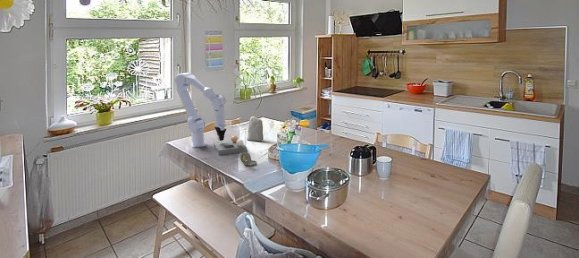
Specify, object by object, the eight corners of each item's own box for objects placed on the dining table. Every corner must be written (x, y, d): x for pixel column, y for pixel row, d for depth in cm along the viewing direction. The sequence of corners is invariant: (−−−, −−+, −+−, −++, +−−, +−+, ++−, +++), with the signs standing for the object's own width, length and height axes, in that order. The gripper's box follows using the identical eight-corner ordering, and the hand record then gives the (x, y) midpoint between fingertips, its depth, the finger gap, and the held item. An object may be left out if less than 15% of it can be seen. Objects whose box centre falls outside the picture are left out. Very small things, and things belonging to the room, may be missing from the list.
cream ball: (235, 145, 217) (235, 139, 216) (242, 144, 218) (242, 138, 217) (237, 147, 213) (237, 140, 212) (244, 146, 215) (243, 139, 214)
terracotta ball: (230, 141, 225) (230, 135, 224) (237, 140, 226) (236, 134, 225) (232, 143, 221) (231, 136, 220) (238, 142, 223) (238, 136, 222)
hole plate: (213, 146, 224) (213, 142, 223) (239, 143, 230) (239, 139, 229) (218, 154, 209) (218, 150, 208) (246, 151, 214) (246, 147, 214)
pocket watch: (256, 161, 196) (256, 143, 194) (256, 167, 188) (255, 148, 186) (241, 162, 196) (240, 144, 194) (239, 167, 188) (238, 148, 185)
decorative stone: (265, 140, 236) (264, 117, 232) (259, 142, 231) (258, 118, 228) (251, 137, 242) (250, 115, 238) (245, 140, 237) (244, 117, 233)
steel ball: (217, 140, 222) (216, 133, 221) (223, 139, 223) (223, 133, 222) (218, 142, 218) (217, 135, 217) (225, 141, 220) (224, 134, 219)
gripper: (229, 118, 212) (230, 141, 215) (223, 113, 225) (225, 135, 228) (216, 119, 210) (218, 143, 213) (212, 114, 223) (213, 136, 226)
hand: (220, 139), depth 221 cm, fingers closed on steel ball, 4 cm apart
